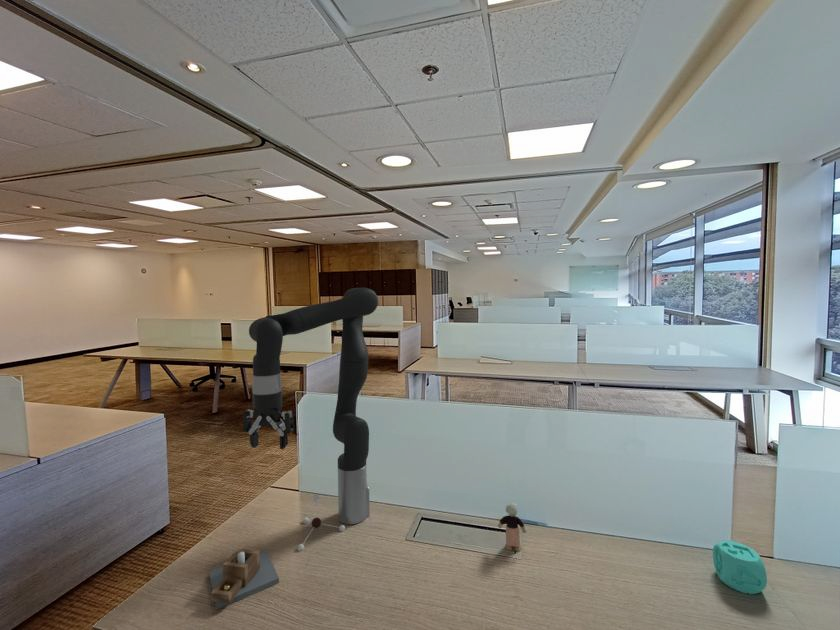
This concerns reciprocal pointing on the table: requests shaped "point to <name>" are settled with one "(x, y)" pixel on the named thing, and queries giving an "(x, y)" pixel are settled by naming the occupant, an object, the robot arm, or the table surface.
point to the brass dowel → (227, 587)
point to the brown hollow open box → (236, 575)
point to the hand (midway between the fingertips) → (269, 447)
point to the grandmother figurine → (512, 527)
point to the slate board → (258, 583)
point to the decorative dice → (739, 567)
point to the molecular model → (316, 523)
